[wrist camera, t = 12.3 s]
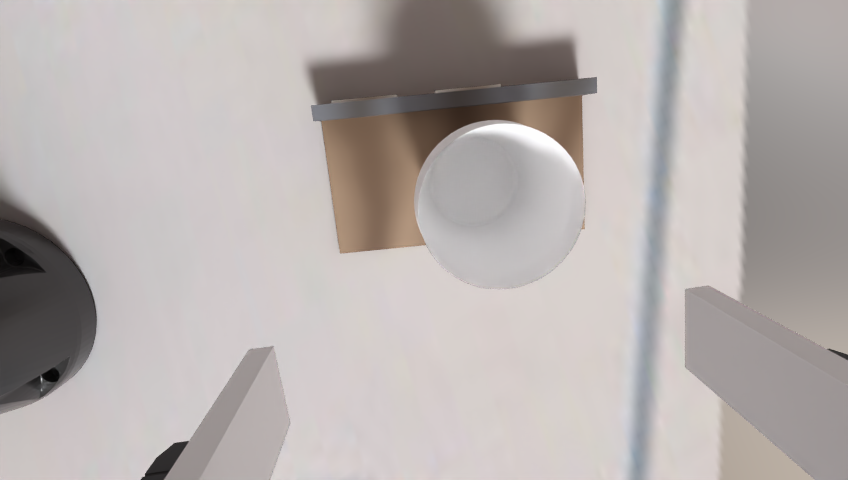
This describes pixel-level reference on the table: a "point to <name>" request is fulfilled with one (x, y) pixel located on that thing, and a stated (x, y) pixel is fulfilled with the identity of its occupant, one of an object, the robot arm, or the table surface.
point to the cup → (499, 204)
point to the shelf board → (424, 148)
